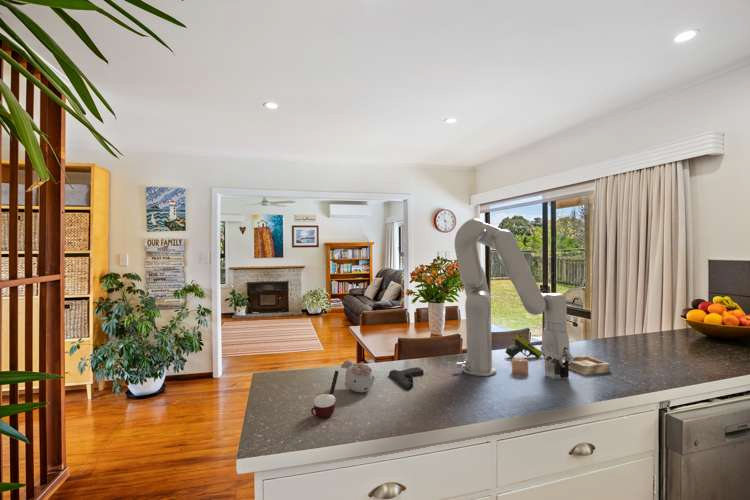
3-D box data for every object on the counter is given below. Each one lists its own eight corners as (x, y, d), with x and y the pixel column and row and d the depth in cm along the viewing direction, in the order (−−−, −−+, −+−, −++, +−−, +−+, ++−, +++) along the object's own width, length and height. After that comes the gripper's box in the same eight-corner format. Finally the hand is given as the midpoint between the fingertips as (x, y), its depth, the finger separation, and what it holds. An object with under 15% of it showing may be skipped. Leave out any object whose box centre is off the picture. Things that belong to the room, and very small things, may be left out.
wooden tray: (583, 374, 147) (583, 366, 147) (561, 365, 158) (561, 357, 158) (610, 371, 149) (610, 363, 149) (586, 363, 161) (586, 355, 161)
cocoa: (312, 423, 111) (310, 382, 110) (308, 413, 117) (306, 374, 116) (344, 416, 114) (342, 376, 113) (339, 407, 120) (337, 369, 119)
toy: (352, 398, 127) (351, 368, 127) (335, 384, 141) (334, 357, 141) (379, 393, 132) (379, 363, 132) (360, 380, 146) (360, 353, 146)
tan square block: (517, 376, 147) (517, 362, 147) (508, 371, 153) (508, 358, 153) (531, 374, 148) (531, 361, 148) (522, 369, 154) (522, 357, 154)
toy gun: (530, 371, 170) (544, 353, 170) (504, 352, 170) (518, 334, 170) (528, 369, 172) (541, 351, 172) (502, 351, 173) (516, 333, 172)
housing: (554, 380, 142) (553, 361, 142) (545, 375, 147) (544, 357, 147) (568, 378, 143) (568, 360, 143) (558, 374, 148) (558, 356, 148)
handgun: (417, 366, 155) (386, 370, 151) (439, 380, 138) (405, 385, 134) (417, 372, 155) (387, 376, 151) (439, 387, 138) (405, 392, 134)
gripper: (532, 323, 153) (533, 368, 153) (563, 332, 136) (564, 382, 136) (548, 321, 154) (549, 366, 154) (581, 330, 137) (582, 380, 137)
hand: (556, 373), depth 145 cm, fingers open, 7 cm apart
